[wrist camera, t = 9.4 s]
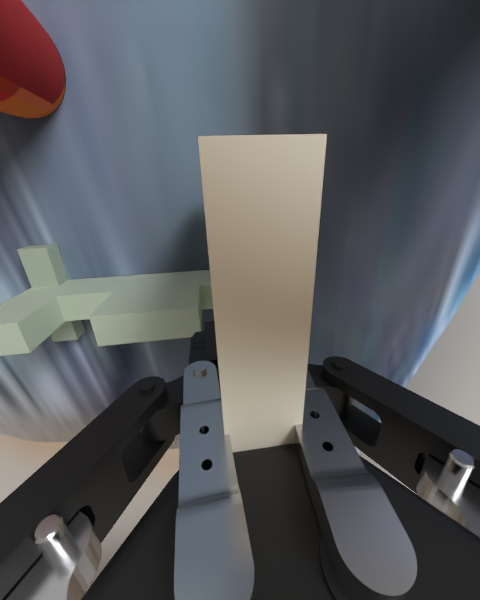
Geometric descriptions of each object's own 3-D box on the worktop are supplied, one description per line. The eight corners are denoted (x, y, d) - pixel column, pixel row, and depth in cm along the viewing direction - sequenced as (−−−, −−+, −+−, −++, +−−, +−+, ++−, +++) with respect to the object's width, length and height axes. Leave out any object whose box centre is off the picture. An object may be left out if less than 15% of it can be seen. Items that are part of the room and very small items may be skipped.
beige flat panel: (203, 182, 17) (197, 136, 4) (231, 181, 18) (327, 133, 4) (219, 367, 24) (239, 605, 10) (240, 365, 24) (288, 594, 10)
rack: (30, 245, 20) (-74, 275, 12) (276, 231, 22) (313, 250, 14) (62, 333, 23) (-6, 398, 15) (274, 313, 25) (304, 363, 18)
